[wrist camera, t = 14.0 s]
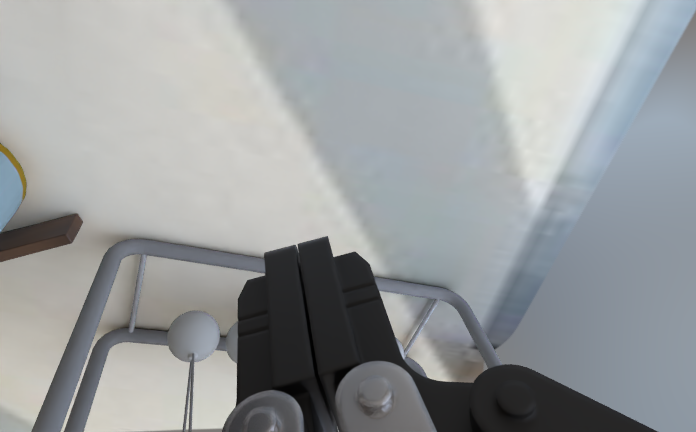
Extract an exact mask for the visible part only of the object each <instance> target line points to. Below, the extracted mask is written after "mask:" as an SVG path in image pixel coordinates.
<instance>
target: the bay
mask: <svg viewBox="0 0 696 432" xmlns="http://www.w3.org/2000/svg"><path fill="white" fill-rule="evenodd" d="M82 223H83V221H82V220H81V218H80V217H79V215H78V214H73V215H70V216H66V217H62V218H58V219H54V220H51V221H47V222H43V223H39V224H35V225H31V226H28V227H24V228H20V229H16V230H12V231H9V232H5V233H1V234H0V262H3V261H6V260H10V259H14V258H18V257H21V256H25V255H29V254H33V253H37V252H40V251H44V250H48V249H52V248H55V247H59V246H63V245H67V244H71V243H72V242H73V241H74V239H75V237H76V235H77V233H78V231H79V229H80V227H81V225H82Z"/></svg>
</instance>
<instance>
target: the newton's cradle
mask: <svg viewBox="0 0 696 432" xmlns="http://www.w3.org/2000/svg"><path fill="white" fill-rule="evenodd" d="M135 254H141V258H140V264H139V270H138V276H137V282H136V288H135V294H134V300H133V306H132V312H131V318H130V324H129V328H121V329H117V330H113V331H111V332H109V333H107V334H105V335H104V336H103V337H101V338H100V339H99V340H98V341H97V343H96V344H95V346H94V348H93V350H92V353H91V356H90V359H89V362H88V364H87V367H86V370H85V373H84V376H83V379H82V382H81V384H80V387H79V390H78V393H77V396H76V399H75V402H74V405H73V407H72V410H71V413H70V416H69V419H68V422H67V425H66V428H65V430H64V432H84V428H85V425H86V422H87V419H88V416H89V412H90V409H91V406H92V403H93V399H94V396H95V393H96V390H97V387H98V383H99V380H100V377H101V374H102V371H103V367H104V364H105V361H106V358H107V355H108V352H109V350H110V348H111V347H112V346H114V345H116V344H118V343H122V342H133V343H144V344H155V345H166V346H169V349H170V351H171V352H172V354H173V355H174V356H175V357H177V358H178V359H180V360H182V361H185V362H190V369H189V378H188V387H187V396H186V405H185V414H184V423H183V432H185V429H186V419H187V410H188V400H189V391H190V381H191V391H190V413H189V432H191V431H192V406H193V380H194V362H198V361H201V360H204V359H206V358H207V357H209V356H210V355H211V354H212V353H213V352H214V350H221V351H227V353H228V355H229V357H230V358H231V359H232V360H233V361H234V362H235V363H237V339H238V322H239V321H237V322H236V323H235V324H234V325H233V326H232V327H231V328H230V330H229V332H228V334H227V337H226V338H224V337H220V329H219V326H218V324H217V321H216V320H215V319H214V318H213V317H212V316H211V315H209V314H208V313H206V312H203V311H189V312H186V313H184V314H182V315H180V316H179V317H177V318H176V319H175V320H174V321H173V323H172V324H171V326H170V328H169V331H168V332H165V331H155V330H145V329H135V328H134V326H135V320H136V314H137V308H138V303H139V297H140V291H141V285H142V280H143V274H144V268H145V262H146V257H147V255H149V256H156V257H163V258H169V259H176V260H182V261H189V262H195V263H202V264H208V265H215V266H221V267H228V268H234V269H241V270H247V271H254V272H260V273H265V260H264V259H263V258H257V257H251V256H245V255H239V254H232V253H226V252H220V251H214V250H208V249H202V248H196V247H190V246H184V245H178V244H172V243H165V242H159V241H153V240H147V239H130V240H125V241H121V242H118V243H116V244H115V245H113V246H112V247H110V248H109V249H108V250H107V252H106V253H105V255H104V256H103V259H102V261H101V264H100V266H99V269H98V271H97V273H96V276H95V278H94V281H93V283H92V286H91V288H90V291H89V293H88V295H87V298H86V300H85V303H84V305H83V308H82V310H81V312H80V315H79V317H78V320H77V322H76V325H75V327H74V329H73V332H72V334H71V337H70V339H69V342H68V344H67V346H66V349H65V351H64V354H63V356H62V359H61V361H60V364H59V366H58V368H57V371H56V373H55V376H54V378H53V381H52V383H51V385H50V388H49V390H48V393H47V395H46V398H45V400H44V402H43V405H42V407H41V410H40V412H39V415H38V417H37V420H36V422H35V424H34V427H33V429H32V432H60V431H61V428H62V426H63V423H64V420H65V417H66V414H67V412H68V409H69V406H70V403H71V400H72V398H73V395H74V392H75V389H76V386H77V383H78V381H79V378H80V375H81V372H82V369H83V367H84V364H85V361H86V358H87V355H88V353H89V350H90V347H91V344H92V341H93V338H94V336H95V333H96V330H97V327H98V324H99V322H100V319H101V316H102V313H103V310H104V308H105V305H106V302H107V299H108V296H109V293H110V291H111V288H112V285H113V282H114V279H115V277H116V274H117V271H118V268H119V265H120V263H121V260H122V259H123V258H125V257H126V256H129V255H135ZM374 279H375V282H376V284H377V287H378V290H379V291H384V292H391V293H397V294H404V295H410V296H417V297H423V298H430V299H435V300H434V302H433V304H432V305H431V307H430V309H429V310H428V312H427V314H426V315H425V317H424V319H423V320H422V322H421V324H420V325H419V327H418V329H417V330H416V332H415V334H414V335H413V337H412V339H411V340H410V342H409V344H408V345H407V347H406V349H405V350H404V349H403V347H402V345H401V343H400V341H399V340H398V339H397V338H396V337H395V338H396V341H397V344H398V347H399V350H400V353H401V355H402V357H403V359H404V360H405V362H406V363H407V364H408V365H409V366H410V367H411V368H412V369H413V370H414V371H415V372H417V373H418V374H420V375H422V376H424V377H426V378H427V376H426V374H425V372H424V370H423V368H422V367H421V366H420V365H419V364H418V363H417V362H415V361H414V360H412V359H410V358H408V357H406V355H407V353H408V352H409V350H410V348H411V347H412V345H413V343H414V342H415V340H416V338H417V337H418V335H419V333H420V332H421V330H422V329H423V327H424V325H425V324H426V322H427V320H428V319H429V317H430V315H431V314H432V312H433V310H434V309H435V307H436V306H437V304H438V302H439V301H440V300H442V301H445V302H447V303H449V304H451V305H452V306H453V307H454V308H455V309H457V311H458V312H459V314H460V316H461V318H462V319H463V321H464V323H465V325H466V327H467V329H468V331H469V333H470V335H471V337H472V338H473V340H474V342H475V344H476V346H477V348H478V350H479V352H480V354H481V355H482V357H483V359H484V361H485V363H486V365H487V367H488V369H489V368H492V367H495V366H498V365H502V363H501V361H500V359H499V358H498V356H497V354H496V352H495V350H494V349H493V347H492V345H491V343H490V341H489V340H488V338H487V336H486V334H485V333H484V331H483V329H482V327H481V325H480V324H479V322H478V320H477V318H476V317H475V315H474V313H473V311H472V309H471V308H470V306H469V305H468V303H467V302H466V301H465V300H464V299H463V298H462V297H460V296H459V295H458V294H456V293H454V292H452V291H450V290H448V289H444V288H439V287H433V286H427V285H421V284H415V283H409V282H403V281H397V280H391V279H385V278H379V277H374Z"/></svg>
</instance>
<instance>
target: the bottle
mask: <svg viewBox="0 0 696 432" xmlns="http://www.w3.org/2000/svg"><path fill="white" fill-rule="evenodd" d="M25 195H26V179H25V176H24V173H23V170H22V167H21V166H20V164H19V163H18V161H17V160H16V159H15V157H14V156H13V154H12V153H11V152H10V151H9V150H8V149H7V148H5V147H4V146H3V145H2V144H1V143H0V232H1V231H2V229H3V228H4V227H5V225H6V224H7V223H8V222H9V220H10V219H11V218H12V216H13V215H14V214H15V212H16V211H17V209H18V207H19V206H20V204H21V203H22V201H23V199H24V198H25Z"/></svg>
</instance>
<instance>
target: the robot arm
mask: <svg viewBox="0 0 696 432" xmlns="http://www.w3.org/2000/svg"><path fill="white" fill-rule="evenodd" d="M298 251H299V252H298ZM264 260H265V276H262V277H258V278H254V279H250V280H247V282H246V284H245V286H244V288H243V290H242V292H241V294H240V296H239V298H238V321H239V322H238V339H237V401H236V407H235V409H234V410H233V411H232V412H231V414H230V415H229V416H228V418H227V420H226V422H225V424H224V427H223V430H222V432H338V430H339V432H657V431H655V430H653V429H651V428H649V427H647V426H645V425H643V424H641V423H639V422H637V421H635V420H633V419H631V418H629V417H627V416H625V415H623V414H621V413H619V412H617V411H615V410H613V409H611V408H609V407H607V406H605V405H603V404H601V403H599V402H597V401H595V400H593V399H591V398H589V397H587V396H585V395H583V394H581V393H578V392H576V391H574V390H572V389H570V388H568V387H566V386H564V385H562V384H560V383H558V382H556V381H554V380H552V379H550V378H548V377H546V376H544V375H542V374H540V373H538V372H536V371H534V370H532V369H529V368H527V367H523V366H519V365H512V364H510V365H498V366H495V367H492V368H489V369H487V370H485V371H484V372H483V373H481V374H480V375H479V376H478V377H477V378H476V380H475V381H474V383H464V382H443V381H436V380H432V379H429V378H426V377H424V376H422V375H420V374H418V373H417V372H415V371H414V370H413V369H412V368H411V367H410V366H409V365H408V364H407V363H406V362H405V360H404V359H403V357H402V355H401V353H400V350H399V347H398V344H397V341H396V338H395V336H394V333H393V330H392V327H391V324H390V321H389V318H388V316H387V313H386V310H385V307H384V304H383V301H382V299H381V296H380V293H379V290H378V287H377V284H376V282H375V279H374V276H373V273H372V270H371V267H370V264H369V263H368V262H367V261H365V260H364V259H363V258H362V257H361V256H360V255H359V254H358V253H356V252H352V253H348V254H344V255H341V256H337V257H333V254H332V250H331V247H330V243H329V239H328V236H326V237H322V238H319V239H315V240H311V241H307V242H303V243H299V244H298V249H297V247H296V245H292V246H289V247H285V248H281V249H277V250H273V251H269V252H266V253H265V254H264ZM337 427H338V429H337Z"/></svg>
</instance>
